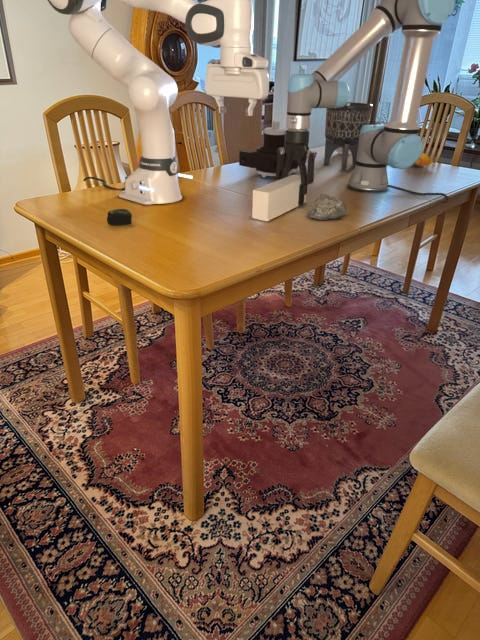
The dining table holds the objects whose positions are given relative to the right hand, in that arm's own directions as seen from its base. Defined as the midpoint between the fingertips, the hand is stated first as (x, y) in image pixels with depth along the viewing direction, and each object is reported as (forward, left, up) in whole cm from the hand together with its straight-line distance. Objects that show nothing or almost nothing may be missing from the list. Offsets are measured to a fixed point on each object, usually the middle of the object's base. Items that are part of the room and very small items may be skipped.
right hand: (292, 202), depth 155 cm
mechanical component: (+4, -48, -1) cm, 48 cm away
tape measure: (+51, +29, -1) cm, 58 cm away
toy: (-62, -76, -1) cm, 98 cm away
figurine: (-30, -100, -1) cm, 105 cm away
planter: (-25, -66, -1) cm, 70 cm away
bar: (+4, +7, -1) cm, 9 cm away
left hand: (+19, +10, +28) cm, 36 cm away
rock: (-11, +12, -1) cm, 16 cm away
